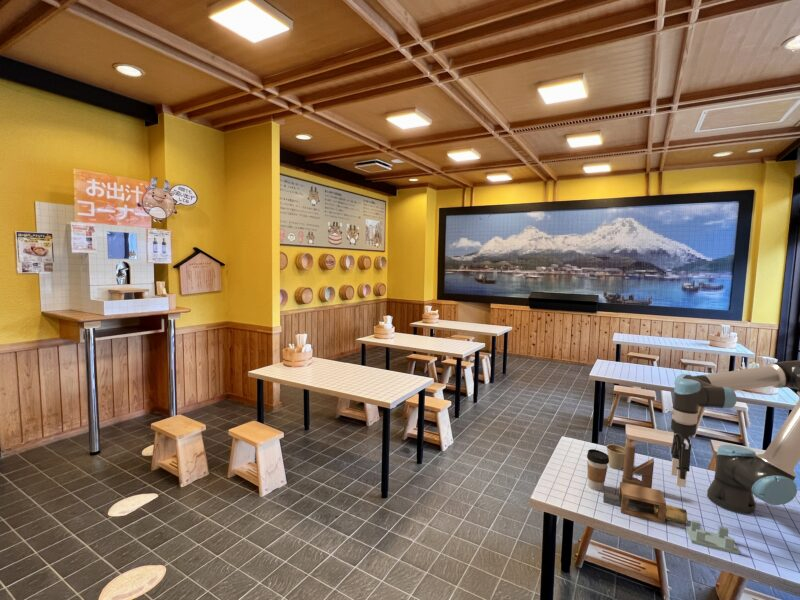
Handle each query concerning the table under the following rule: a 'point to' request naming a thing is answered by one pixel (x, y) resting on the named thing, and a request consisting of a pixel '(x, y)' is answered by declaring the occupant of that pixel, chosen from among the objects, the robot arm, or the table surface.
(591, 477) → the coffee cup
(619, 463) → the flower pot
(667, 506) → the gold metallic block
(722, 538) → the cradle
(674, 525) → the table surface
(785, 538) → the table surface
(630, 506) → the drift bar
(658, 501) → the box
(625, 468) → the wooden bracket
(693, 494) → the table surface
